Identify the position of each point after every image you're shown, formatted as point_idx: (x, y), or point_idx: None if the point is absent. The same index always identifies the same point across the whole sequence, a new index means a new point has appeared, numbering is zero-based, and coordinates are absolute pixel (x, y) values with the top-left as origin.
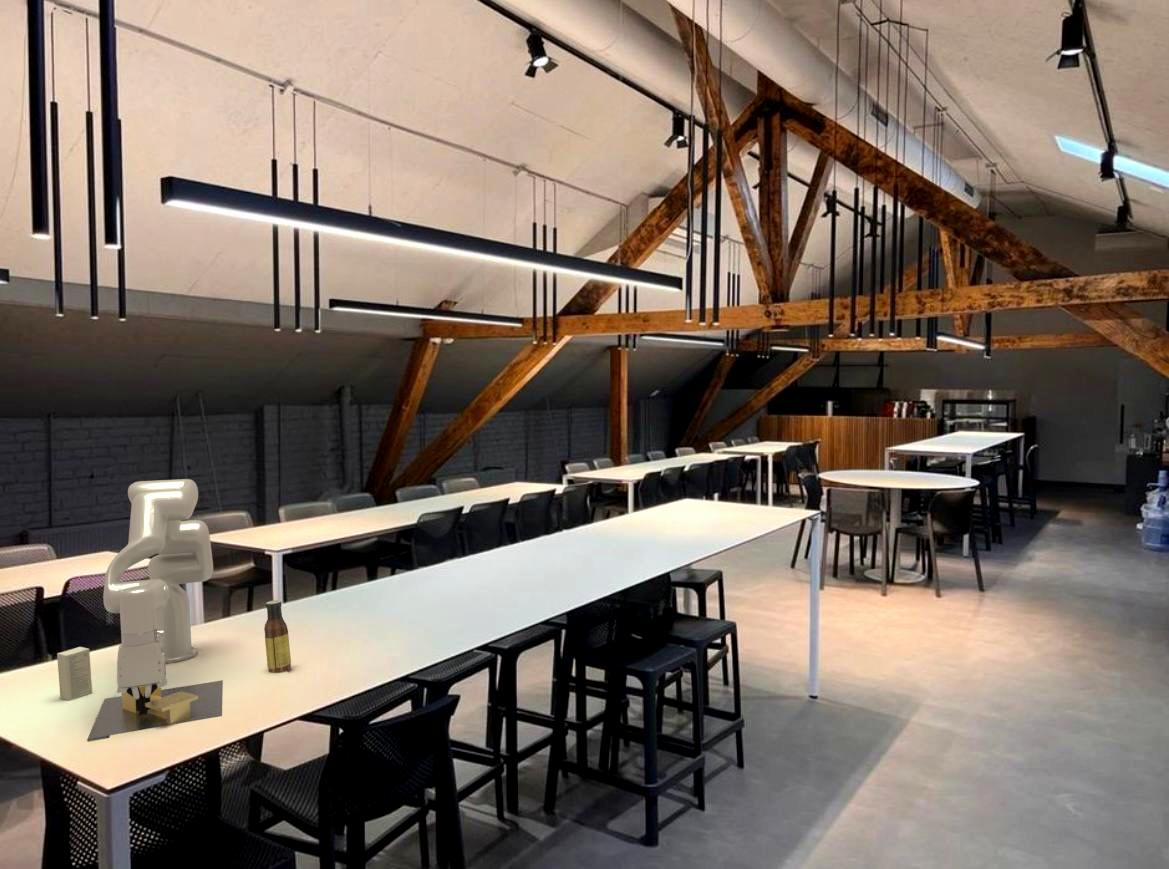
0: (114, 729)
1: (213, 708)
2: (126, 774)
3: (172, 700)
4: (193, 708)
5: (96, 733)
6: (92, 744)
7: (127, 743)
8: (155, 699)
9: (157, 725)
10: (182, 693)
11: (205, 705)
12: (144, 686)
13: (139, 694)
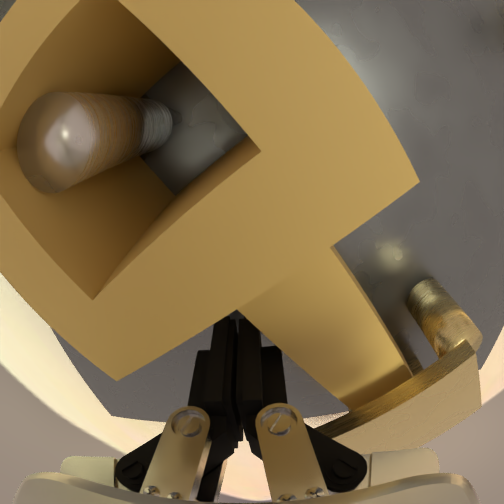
0: (157, 395)
1: (496, 309)
2: (270, 494)
3: (395, 444)
4: (458, 289)
5: (111, 396)
6: (141, 428)
7: (239, 449)
8: (312, 318)
9: (314, 409)
10: (462, 386)
11: (494, 268)
12: (193, 332)
13: (221, 459)
